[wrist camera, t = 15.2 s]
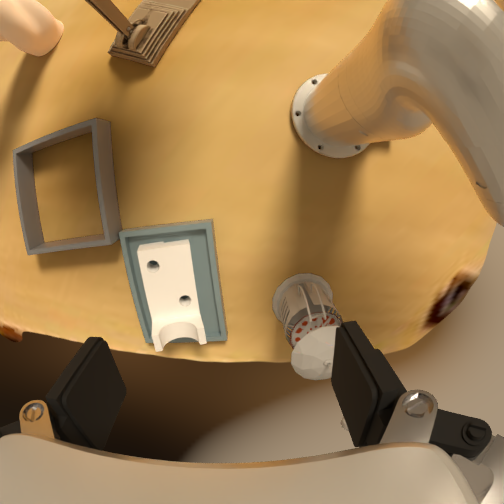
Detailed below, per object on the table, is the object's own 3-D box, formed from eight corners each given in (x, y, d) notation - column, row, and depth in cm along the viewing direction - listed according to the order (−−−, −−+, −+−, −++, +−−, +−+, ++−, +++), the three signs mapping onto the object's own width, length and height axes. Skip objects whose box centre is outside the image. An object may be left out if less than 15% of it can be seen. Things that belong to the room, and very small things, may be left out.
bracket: (199, 317, 44) (206, 343, 37) (156, 324, 42) (156, 351, 35) (187, 237, 40) (192, 251, 33) (139, 244, 38) (133, 260, 31)
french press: (278, 334, 45) (304, 465, 21) (263, 270, 42) (287, 397, 18) (335, 319, 45) (397, 436, 21) (327, 255, 41) (413, 357, 17)
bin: (110, 121, 34) (96, 117, 30) (123, 236, 39) (111, 244, 35) (29, 149, 34) (12, 150, 30) (42, 247, 39) (27, 255, 35)
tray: (212, 218, 39) (211, 222, 37) (227, 332, 45) (227, 340, 42) (124, 229, 39) (118, 232, 37) (149, 335, 44) (146, 342, 42)
